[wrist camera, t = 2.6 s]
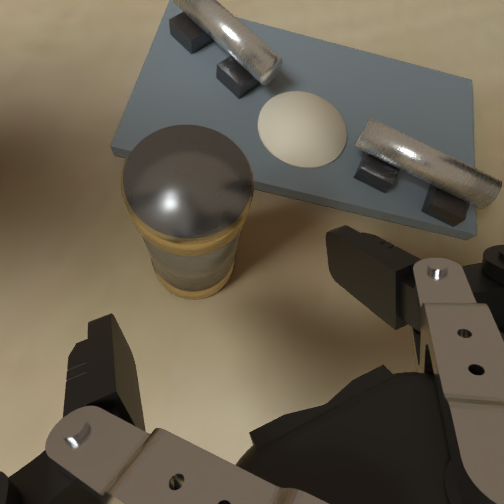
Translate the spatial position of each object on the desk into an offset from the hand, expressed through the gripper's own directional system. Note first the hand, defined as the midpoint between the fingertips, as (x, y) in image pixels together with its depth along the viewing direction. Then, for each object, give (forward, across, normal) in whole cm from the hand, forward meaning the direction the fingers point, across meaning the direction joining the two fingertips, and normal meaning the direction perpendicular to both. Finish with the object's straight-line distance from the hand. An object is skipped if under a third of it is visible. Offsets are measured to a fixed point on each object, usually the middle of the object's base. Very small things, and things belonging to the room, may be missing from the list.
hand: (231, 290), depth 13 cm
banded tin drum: (+9, 0, +3) cm, 10 cm away
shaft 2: (+9, -16, +3) cm, 19 cm away
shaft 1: (+19, -8, -6) cm, 22 cm away
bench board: (+15, -12, -2) cm, 19 cm away
